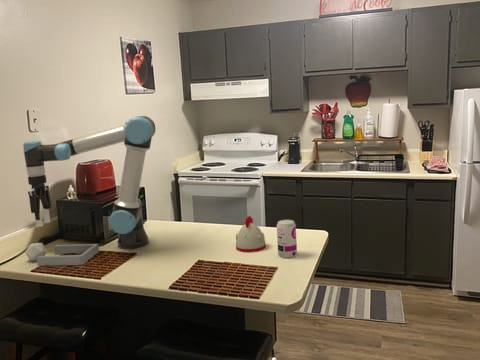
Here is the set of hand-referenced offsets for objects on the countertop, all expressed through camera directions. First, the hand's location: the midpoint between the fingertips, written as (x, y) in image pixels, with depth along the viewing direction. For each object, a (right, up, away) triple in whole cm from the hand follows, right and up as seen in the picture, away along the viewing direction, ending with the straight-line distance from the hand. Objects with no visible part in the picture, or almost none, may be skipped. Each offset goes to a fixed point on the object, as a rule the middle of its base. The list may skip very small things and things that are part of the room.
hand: (43, 224), depth 207 cm
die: (-4, -17, +3) cm, 18 cm away
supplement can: (+111, -12, -13) cm, 113 cm away
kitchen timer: (+96, -11, +1) cm, 96 cm away
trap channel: (+10, -16, +2) cm, 19 cm away
